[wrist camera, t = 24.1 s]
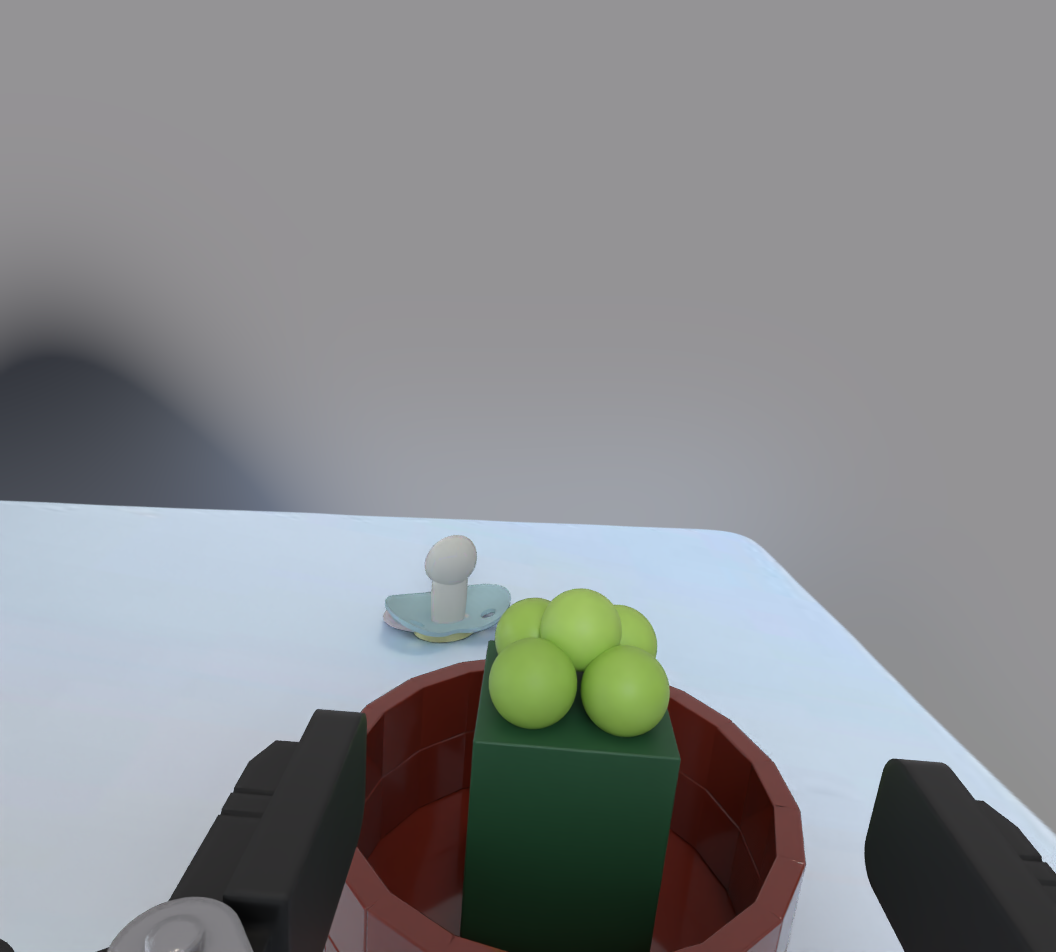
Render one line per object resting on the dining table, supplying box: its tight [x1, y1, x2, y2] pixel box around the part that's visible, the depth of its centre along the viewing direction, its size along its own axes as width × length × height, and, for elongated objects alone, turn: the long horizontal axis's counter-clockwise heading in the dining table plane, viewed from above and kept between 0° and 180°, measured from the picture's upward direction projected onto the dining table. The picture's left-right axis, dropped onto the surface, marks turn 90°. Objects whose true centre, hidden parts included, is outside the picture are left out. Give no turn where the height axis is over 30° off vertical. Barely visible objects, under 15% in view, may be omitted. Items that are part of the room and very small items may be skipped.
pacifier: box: [383, 535, 511, 643], centre depth 44 cm, size 7×6×6 cm
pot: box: [323, 659, 806, 952], centre depth 25 cm, size 15×15×6 cm
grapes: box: [460, 589, 681, 952], centre depth 24 cm, size 6×6×12 cm
